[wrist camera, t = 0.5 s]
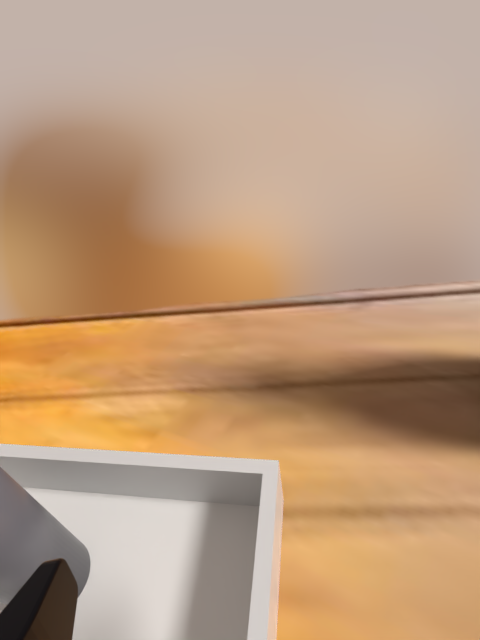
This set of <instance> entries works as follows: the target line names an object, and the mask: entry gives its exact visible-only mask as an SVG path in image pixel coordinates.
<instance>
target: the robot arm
mask: <svg viewBox="0 0 480 640" xmlns="http://www.w3.org/2000/svg"><path fill="white" fill-rule="evenodd" d="M77 599H78V584H77V581H76V579H75V577H74V575H73V573H72V571H71V569H70V567H69V565H68V563H67V561H66V560H65V559H63V558H58V559H53V560H48V561H45V562H43V563H42V564H41V565H40V566H39V567H38V568H37V569H36V570H35V572H34V573H33V574H32V575H31V576H30V578H29V579H28V580H27V581H26V582H25V584H24V585H23V586H22V587H21V589H20V590H19V591H18V592H17V593H16V595H15V596H14V597H13V598H12V599H11V601H10V602H9V603H8V604H7V606H6V607H5V608H4V609H3V610H2V612H1V613H0V640H72V637H73V629H74V622H75V614H76V607H77Z"/></svg>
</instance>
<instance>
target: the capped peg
mask: <svg viewBox="0 0 480 640" xmlns="http://www.w3.org/2000/svg"><path fill="white" fill-rule="evenodd" d="M58 558H63V559H65V560H66V561H67V563H68V565H69V567H70V569H71V571H72V573H73V575H74V577H75V579H76V581H77V584H78V597H79V596H80V594H81V593H82V591H83V589H84V587H85V585H86V583H87V580H88V577H89V573H90V555H89V552H88V550H87V548H86V547H85V545H84V544H83V543H82V542H80V541H79V540H78V539H77V538H76V537H75V536H74V535H73V534H72V533H71V532H70V531H69V530H68V529H67V528H65V527H64V526H63V525H62V524H61V523H60V522H59V521H58V520H57V519H56V518H55V517H54V516H53V515H52V514H50V513H49V512H48V511H47V510H46V509H45V508H44V507H43V506H42V505H41V504H40V503H39V502H38V501H37V500H35V499H34V498H33V497H32V496H31V495H30V494H29V493H28V492H27V491H26V490H25V489H24V488H23V487H22V486H20V485H19V484H18V483H17V482H16V481H15V480H14V479H13V478H12V477H11V476H10V475H9V474H8V473H7V472H5V471H4V470H3V469H2V468H1V467H0V602H1V603H3V604H5V605H7V604H8V603H9V602H10V601H11V599H12V598H13V597H14V596H15V595H16V593H17V592H18V591H19V590H20V589H21V587H22V586H23V585H24V584H25V582H26V581H27V580H28V579H29V578H30V576H31V575H32V574H33V573H34V572H35V570H36V569H37V568H38V567H39V566H40V565H41V564H42V563H43V562H45V561H48V560H53V559H58Z"/></svg>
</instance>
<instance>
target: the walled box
mask: <svg viewBox="0 0 480 640" xmlns="http://www.w3.org/2000/svg"><path fill="white" fill-rule="evenodd" d="M0 467H1V468H2V469H3V470H4V471H5V472H7V473H8V474H9V475H10V476H11V477H12V478H13V479H14V480H15V481H16V482H17V483H18V484H19V485H20V486H22V487H23V488H24V489H25V490H26V491H27V492H28V493H29V494H30V495H31V496H32V497H33V498H34V499H35V500H37V501H38V502H39V503H40V504H41V505H42V506H43V507H44V508H45V509H46V510H47V511H48V512H49V513H50V514H52V515H53V516H54V517H55V518H56V519H57V520H58V521H59V522H60V523H61V524H62V525H63V526H64V527H65V528H67V529H68V530H69V531H70V532H71V533H72V534H73V535H74V536H75V537H76V538H77V539H78V540H79V541H80V542H82V543H83V544H84V545H85V547H86V548H87V550H88V552H89V555H90V573H89V577H88V580H87V583H86V585H85V587H84V589H83V591H82V593H81V594H80V596H79V597H78V599H77V607H76V614H75V622H74V629H73V637H72V640H276V639H277V620H278V600H279V580H280V561H281V541H282V522H283V502H284V500H283V492H282V484H281V476H280V468H279V461H277V460H261V459H244V458H227V457H211V456H194V455H178V454H161V453H144V452H128V451H111V450H94V449H78V448H61V447H44V446H28V445H11V444H0ZM6 606H7V605H5V604H3V603H1V602H0V613H1V612H2V610H3V609H4V608H5V607H6Z"/></svg>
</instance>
